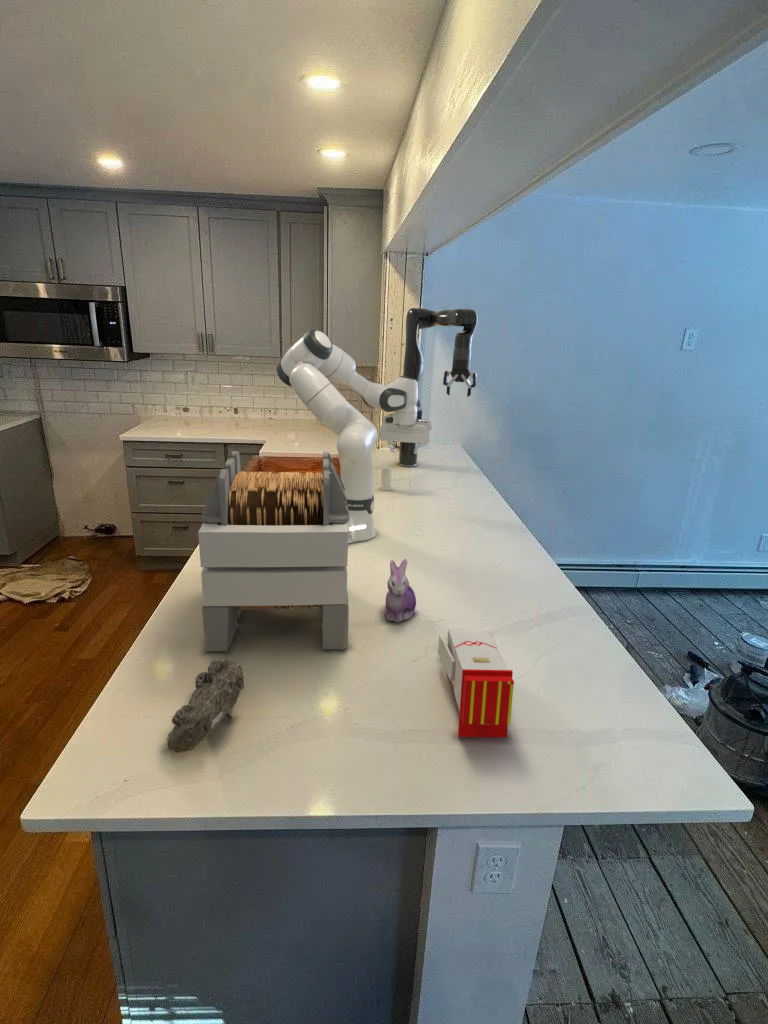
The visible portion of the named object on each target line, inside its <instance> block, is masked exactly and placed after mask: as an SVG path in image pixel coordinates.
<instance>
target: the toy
mask: <svg viewBox="0 0 768 1024" xmlns="http://www.w3.org/2000/svg"><path fill="white" fill-rule="evenodd" d="M446 640H447V643H446V641H445V639H444V636H443V635H442V634H439V637H438V646H437V656H438V657H439V659H440V661H441V663H442V666H443V668H444V670H445V672H446V674H447V677H448V679H449V681H450V684H451V687H452V690H453V693H454V697H455V701H456V705H457V708H458V711H459V714H458V715H459V716H458V730H457V731H458V732H457V737H458V738H508V731H509V726H510V725H511V717H512V707H513V697H514V696H513V695H514V684H515V680H514V679H513V673H514V671H513V670H512V669H508V667H507V665H506V662H505V661H504V659H503V658H502V655H501V653H500V651H499V649H498V647H497V643H496V639H495V637H494V635H493V634H491V632H490V631H489V629H467V628H466V629H465V628H463V629H461V628H460V629H459V628H448V630H447V639H446Z"/></svg>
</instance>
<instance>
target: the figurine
mask: <svg viewBox="0 0 768 1024" xmlns="http://www.w3.org/2000/svg"><path fill="white" fill-rule="evenodd" d="M407 567H408V559H406V558H404V559H403V560H402V561H401V563H400V565H399V566H398V565H397V563H396V562H395V561H394V560H393V559H391V560H390V561H389V570H390V576H389V578H388V579H387V589H388V591H387V592H386V594H385V595H386V596H385V607H384V615H385V616H386V620H387V621H391V622H395V623H400V622H402V621H406V620H409V619H410V618H411V617H413V616H414V615H415V610H416V606H417V597H416V593H415V591H414V590H413V587H411V586H410V582H409V579H408V577H407V574H406V571H407Z"/></svg>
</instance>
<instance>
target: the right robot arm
mask: <svg viewBox="0 0 768 1024" xmlns="http://www.w3.org/2000/svg"><path fill="white" fill-rule="evenodd" d="M405 317H406V318H405V350H404V358H403V360H404V361H403V369H402V371H403V373H402V376H405V377H410V378H414V379H415V380H416V381H417V384H418V383H419V381H420V379H421V377H422V375H423V370H424V360H425V359H424V355H423V351H422V350H421V347H420V345H419V341H418V330H426V329H430V328H432V327H444V328H445V327H446V328H447V327H448V328H450V327H463V328H462V330H461V331H460V332H457V333H456V334H455V338H454V347H453V348H454V349H453V353H452V366H451V371H449V370H445V371H444V372H443V381H442V384H443V386H446V395H447V396H450V395H451V389H452V388H451V387H452V386H451V385H452V384H453V383H454V382H455V383H465V384H466V387H468V388H467V393H466V397H467V398H469V397H470V396H472V389H473V388H476V387H477V372H471V371H470V369H471V358H472V341H473V337H474V334H475V330H476V328H477V324H478V317H479V316H478V314H477V311H476V310H474V309H471V308H454V309H442V310H438V311H436V310H432V309H427V308H423V307H410V308H409V309H408V311H407V313H406V316H405ZM449 376H451V379H450V381H448V377H449ZM470 377H471V379H472V384H471V382H470V380H469V378H470ZM416 407H417V419H421V420H423V419H422V418H423V404H422V402H421V400H420V399H418V401H417V405H416ZM393 445H394V447H395V448H398V449H399V450H398V451H399V452H398V453H399V454H398V459H397V461H398V463H397V464H398V465H399V466H401V467H407V468H410V467H413V468H414V467H417V466H418V454H414V449H417V447H418V446H417V443H409V442H399V445H398V446H396V445H397V444H396V445H395V444H393Z"/></svg>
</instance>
